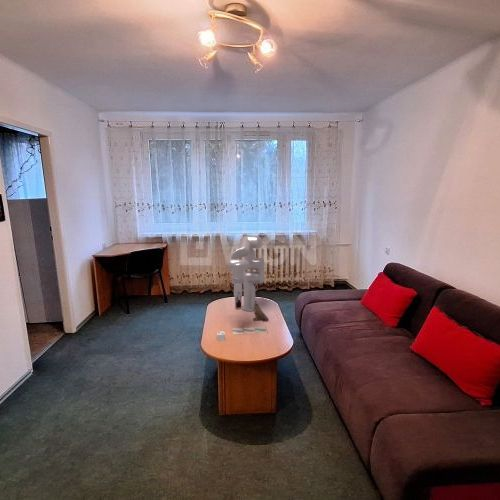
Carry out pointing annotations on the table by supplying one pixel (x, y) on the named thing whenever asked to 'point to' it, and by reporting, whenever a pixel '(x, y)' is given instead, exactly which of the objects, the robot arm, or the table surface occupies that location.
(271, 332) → the table surface
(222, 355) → the table surface
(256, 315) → the worn brown figurine
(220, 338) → the die
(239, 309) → the pink cylindrical peg
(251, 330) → the game board
